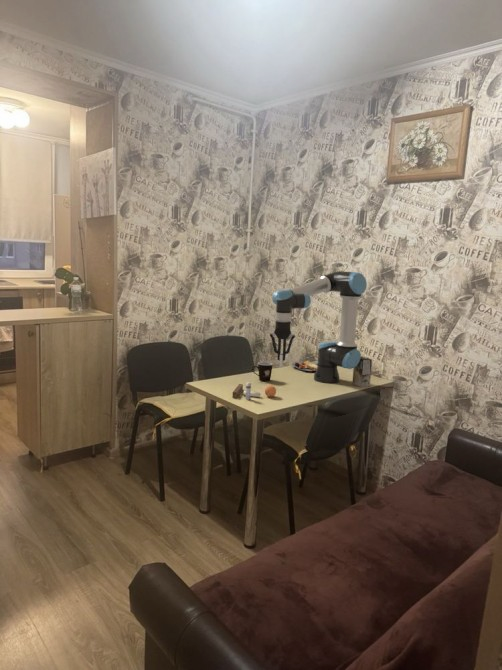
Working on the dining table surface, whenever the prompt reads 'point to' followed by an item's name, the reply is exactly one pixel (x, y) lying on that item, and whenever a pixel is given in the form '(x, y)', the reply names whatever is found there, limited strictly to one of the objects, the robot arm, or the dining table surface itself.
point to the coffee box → (362, 372)
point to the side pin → (248, 390)
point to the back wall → (237, 390)
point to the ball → (270, 391)
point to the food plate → (305, 365)
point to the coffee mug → (264, 371)
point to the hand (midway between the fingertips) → (281, 366)
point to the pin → (253, 394)
